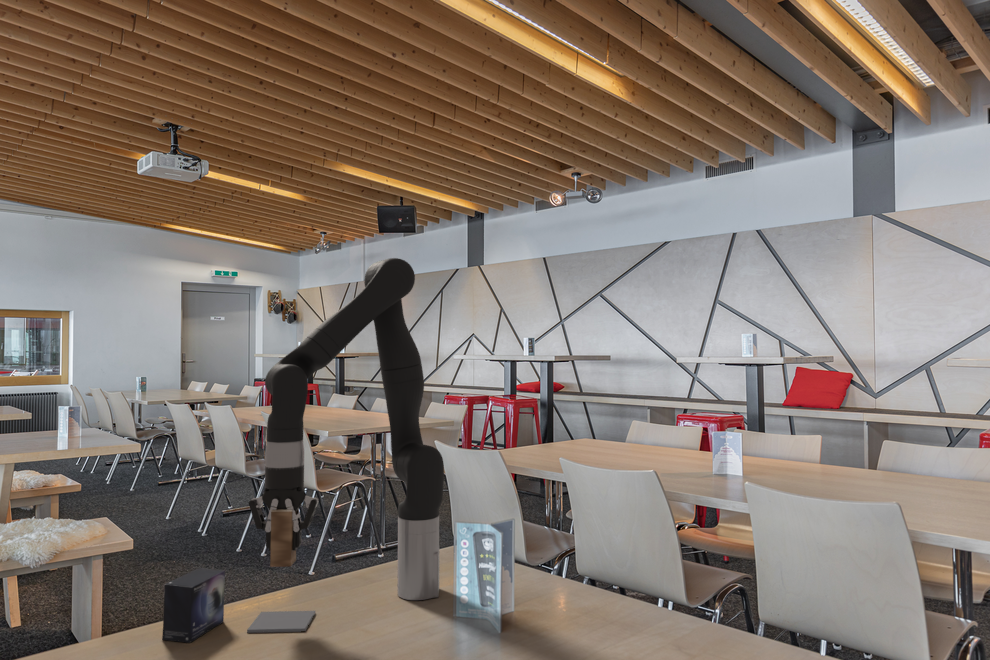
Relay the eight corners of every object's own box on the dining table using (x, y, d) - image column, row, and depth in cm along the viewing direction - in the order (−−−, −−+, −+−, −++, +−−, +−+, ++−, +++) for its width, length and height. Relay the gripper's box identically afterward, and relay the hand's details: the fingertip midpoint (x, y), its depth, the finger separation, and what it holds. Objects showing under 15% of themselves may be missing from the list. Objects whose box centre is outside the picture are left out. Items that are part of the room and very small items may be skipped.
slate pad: (315, 613, 136) (315, 610, 136) (305, 631, 127) (305, 628, 127) (261, 614, 136) (261, 611, 136) (247, 632, 127) (247, 629, 127)
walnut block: (295, 560, 134) (296, 505, 135) (290, 566, 130) (291, 510, 131) (275, 560, 134) (276, 505, 134) (270, 566, 130) (271, 510, 130)
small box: (191, 644, 122) (192, 586, 122) (160, 641, 123) (161, 584, 124) (225, 621, 132) (226, 568, 133) (197, 619, 134) (197, 566, 134)
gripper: (324, 460, 137) (323, 544, 136) (254, 460, 136) (253, 545, 135) (316, 466, 129) (315, 554, 129) (242, 466, 129) (241, 555, 128)
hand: (283, 549), depth 132 cm, fingers closed on walnut block, 4 cm apart
